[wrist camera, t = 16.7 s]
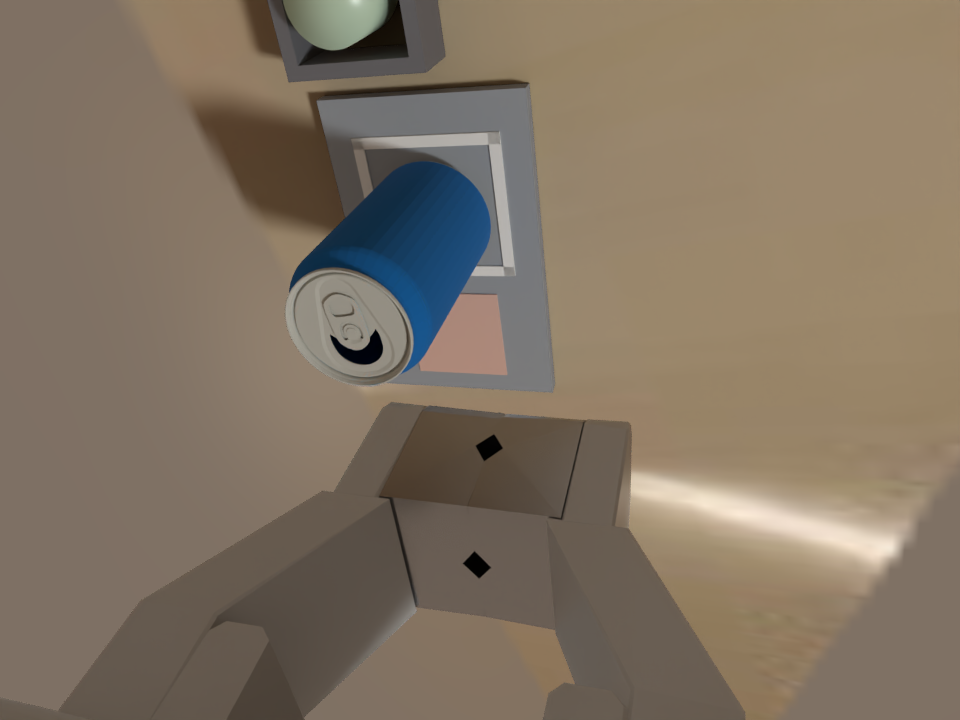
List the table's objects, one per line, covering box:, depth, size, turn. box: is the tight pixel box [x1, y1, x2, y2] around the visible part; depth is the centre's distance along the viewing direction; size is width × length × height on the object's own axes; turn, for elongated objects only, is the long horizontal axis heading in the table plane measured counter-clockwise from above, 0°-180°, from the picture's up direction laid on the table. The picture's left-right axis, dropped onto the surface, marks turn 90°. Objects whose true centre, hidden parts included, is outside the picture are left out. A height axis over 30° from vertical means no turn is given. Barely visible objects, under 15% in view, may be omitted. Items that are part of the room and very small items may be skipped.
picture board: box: [317, 83, 555, 393], centre depth 41 cm, size 18×11×1 cm, turn 7°
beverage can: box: [285, 161, 491, 387], centre depth 35 cm, size 6×6×12 cm
